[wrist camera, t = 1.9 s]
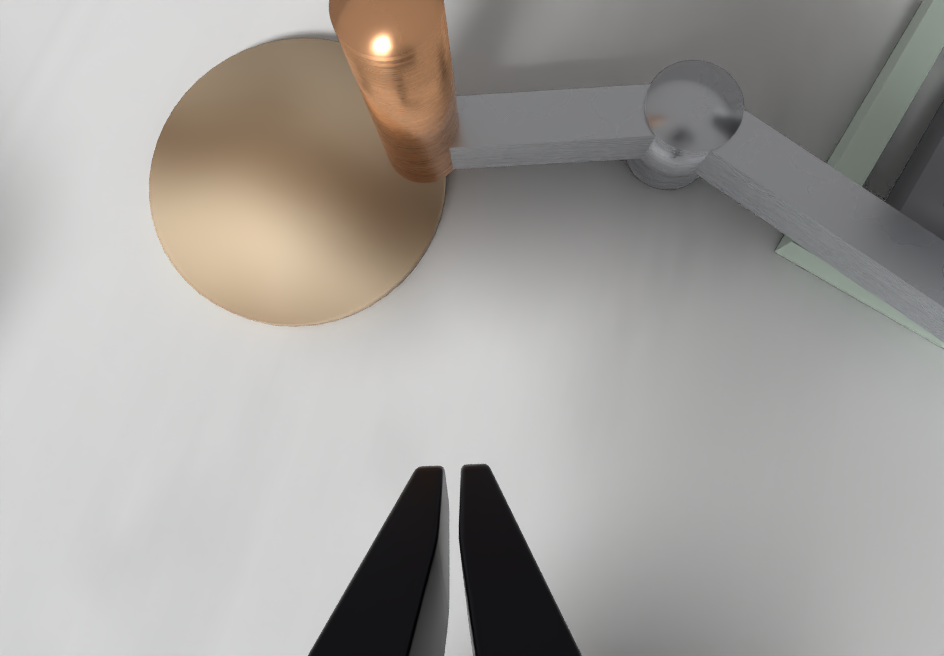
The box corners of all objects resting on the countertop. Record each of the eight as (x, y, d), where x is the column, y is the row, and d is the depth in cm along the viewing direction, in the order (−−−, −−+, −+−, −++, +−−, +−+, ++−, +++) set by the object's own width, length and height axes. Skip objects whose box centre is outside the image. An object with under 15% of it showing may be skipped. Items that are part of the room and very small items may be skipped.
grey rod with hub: (379, 170, 21) (305, 15, 13) (516, 1, 22) (527, -248, 14) (931, 573, 19) (1268, 696, 11) (1066, 369, 19) (1480, 334, 11)
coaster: (424, 343, 21) (421, 341, 20) (132, 307, 21) (121, 304, 21) (464, 62, 22) (463, 52, 21) (188, 35, 22) (180, 25, 22)
